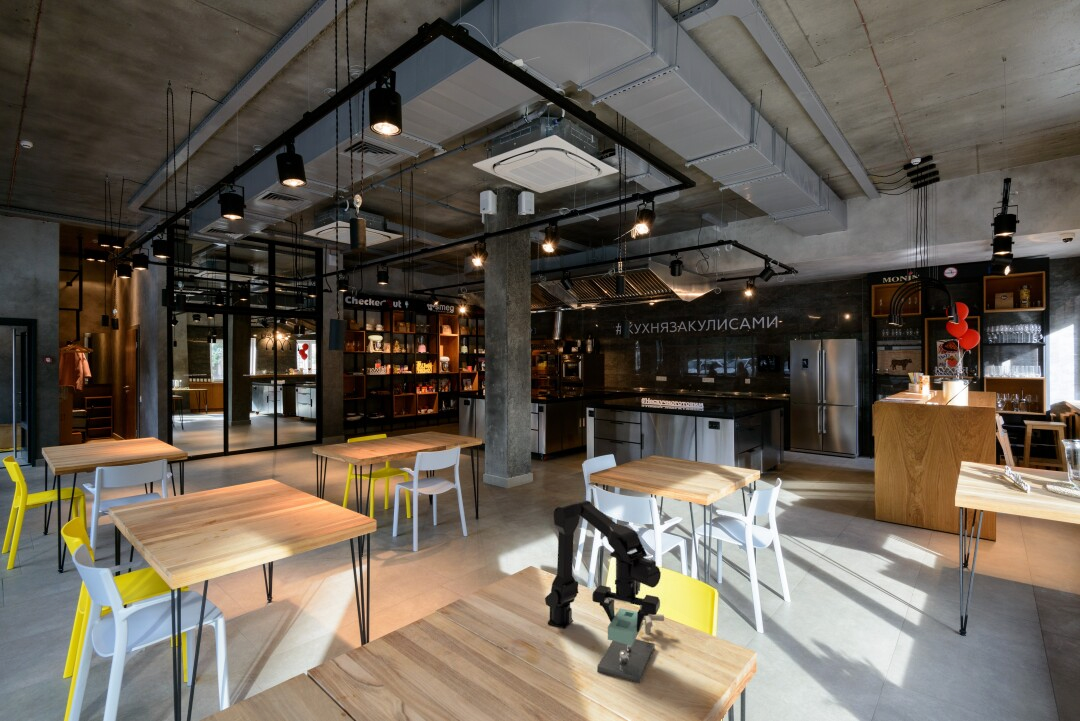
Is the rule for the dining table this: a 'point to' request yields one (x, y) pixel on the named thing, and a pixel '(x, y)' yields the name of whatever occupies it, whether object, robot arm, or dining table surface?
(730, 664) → the dining table surface
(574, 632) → the dining table surface
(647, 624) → the pipe connector
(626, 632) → the teal hollow block
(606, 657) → the post base
